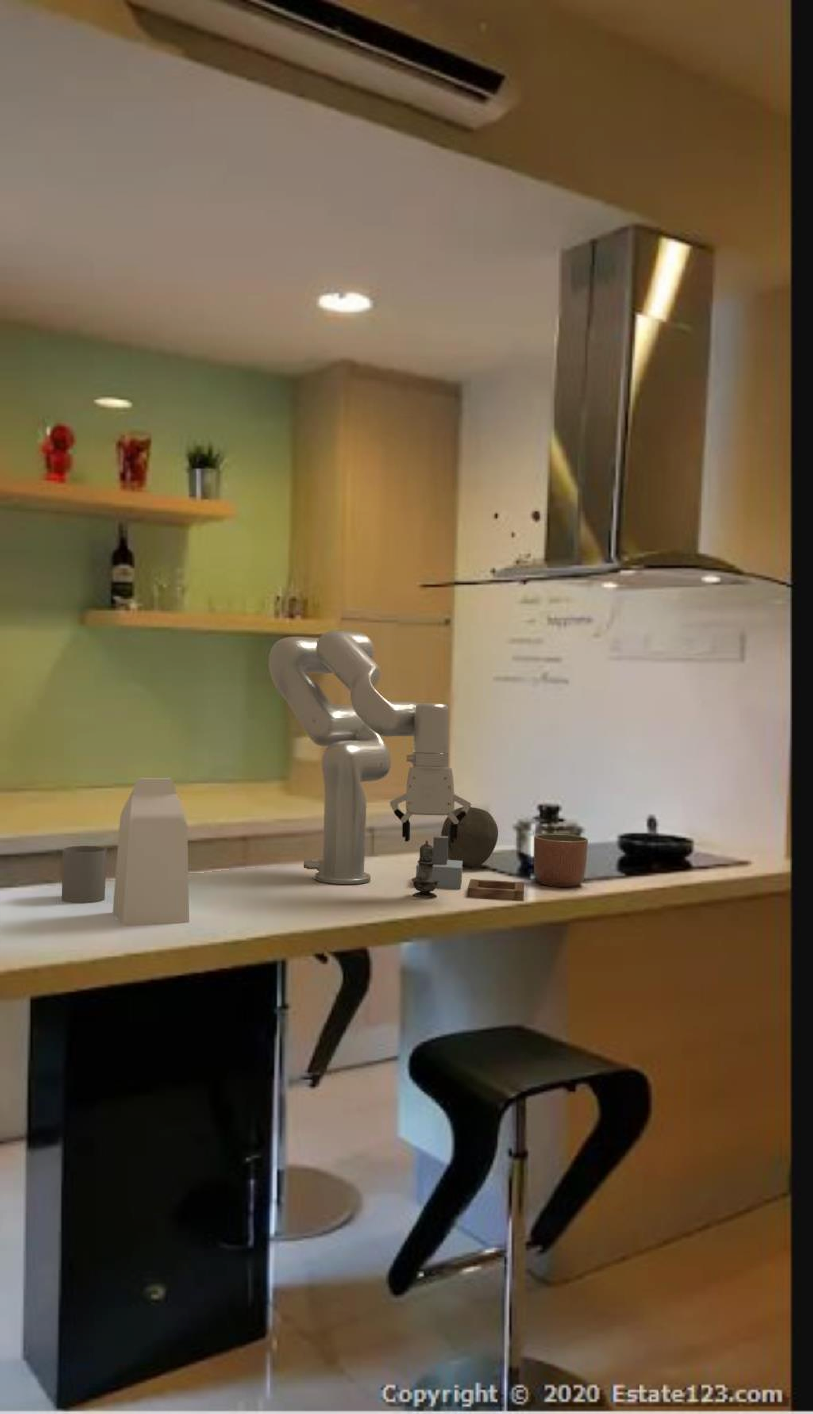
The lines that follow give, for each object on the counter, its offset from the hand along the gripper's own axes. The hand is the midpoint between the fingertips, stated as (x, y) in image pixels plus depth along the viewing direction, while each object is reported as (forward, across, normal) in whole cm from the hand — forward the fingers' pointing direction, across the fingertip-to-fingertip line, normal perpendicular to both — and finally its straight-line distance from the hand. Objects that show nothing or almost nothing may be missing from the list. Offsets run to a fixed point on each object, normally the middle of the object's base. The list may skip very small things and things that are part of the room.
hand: (429, 841), depth 239 cm
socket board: (+12, +14, +8) cm, 20 cm away
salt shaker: (+12, -1, +1) cm, 12 cm away
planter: (+12, +28, +25) cm, 39 cm away
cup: (+11, -67, -23) cm, 72 cm away
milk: (+11, -49, -35) cm, 62 cm away
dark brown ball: (+12, +6, +41) cm, 43 cm away
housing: (+12, +1, +16) cm, 20 cm away
